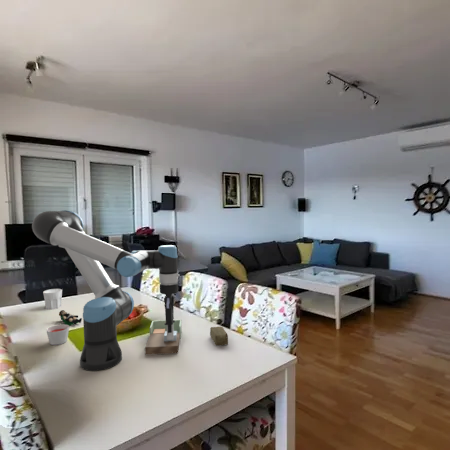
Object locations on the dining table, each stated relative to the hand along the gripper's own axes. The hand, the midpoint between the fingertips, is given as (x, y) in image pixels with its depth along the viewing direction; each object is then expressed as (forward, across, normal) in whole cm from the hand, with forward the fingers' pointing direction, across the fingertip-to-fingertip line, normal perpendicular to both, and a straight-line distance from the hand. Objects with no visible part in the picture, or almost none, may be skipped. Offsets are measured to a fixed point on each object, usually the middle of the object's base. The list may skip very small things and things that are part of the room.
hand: (170, 339), depth 136 cm
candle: (+4, +12, +50) cm, 52 cm away
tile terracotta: (+4, +13, +6) cm, 15 cm away
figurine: (+4, +37, +56) cm, 67 cm away
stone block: (+5, +6, -20) cm, 22 cm away
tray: (+4, +15, +3) cm, 16 cm away
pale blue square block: (+1, +3, 0) cm, 4 cm away
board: (+4, +3, +3) cm, 6 cm away
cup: (+4, +66, +76) cm, 101 cm away
